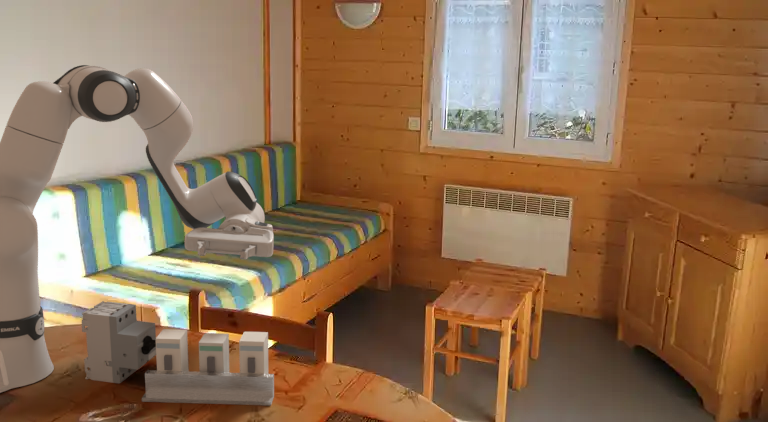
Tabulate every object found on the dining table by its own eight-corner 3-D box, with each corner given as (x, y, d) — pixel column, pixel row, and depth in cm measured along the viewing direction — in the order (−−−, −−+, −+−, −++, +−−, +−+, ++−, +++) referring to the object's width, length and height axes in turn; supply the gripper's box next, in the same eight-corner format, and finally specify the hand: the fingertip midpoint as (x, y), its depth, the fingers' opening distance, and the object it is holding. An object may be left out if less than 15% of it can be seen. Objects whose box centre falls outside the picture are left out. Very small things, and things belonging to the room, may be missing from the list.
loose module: (199, 393, 146) (197, 344, 143) (206, 380, 151) (204, 333, 149) (223, 394, 146) (222, 344, 143) (229, 381, 151) (228, 333, 149)
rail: (141, 401, 142) (140, 378, 141) (148, 392, 146) (147, 370, 144) (270, 405, 142) (270, 382, 141) (274, 396, 146) (273, 374, 144)
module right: (239, 397, 145) (238, 342, 142) (245, 384, 150) (244, 331, 148) (263, 397, 145) (263, 343, 142) (268, 384, 150) (268, 332, 148)
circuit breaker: (146, 387, 148) (143, 319, 145) (85, 379, 151) (80, 312, 147) (164, 371, 155) (161, 307, 152) (105, 364, 158) (101, 301, 155)
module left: (156, 394, 145) (154, 340, 142) (165, 381, 150) (163, 329, 148) (181, 395, 145) (179, 340, 142) (189, 382, 150) (187, 329, 148)
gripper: (193, 218, 168) (175, 236, 155) (279, 225, 168) (267, 244, 155) (194, 243, 170) (175, 263, 157) (278, 250, 170) (266, 271, 156)
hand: (222, 254), depth 156 cm, fingers open, 8 cm apart
